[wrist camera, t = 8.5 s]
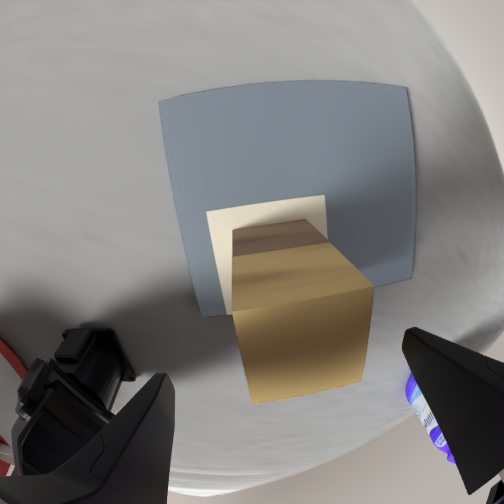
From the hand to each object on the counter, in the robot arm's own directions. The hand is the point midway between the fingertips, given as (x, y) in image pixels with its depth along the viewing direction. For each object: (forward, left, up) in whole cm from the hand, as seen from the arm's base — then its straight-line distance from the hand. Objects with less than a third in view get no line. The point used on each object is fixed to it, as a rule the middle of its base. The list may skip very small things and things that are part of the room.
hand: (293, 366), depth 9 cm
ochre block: (0, -1, -6) cm, 6 cm away
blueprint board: (+4, -4, -12) cm, 13 cm away
